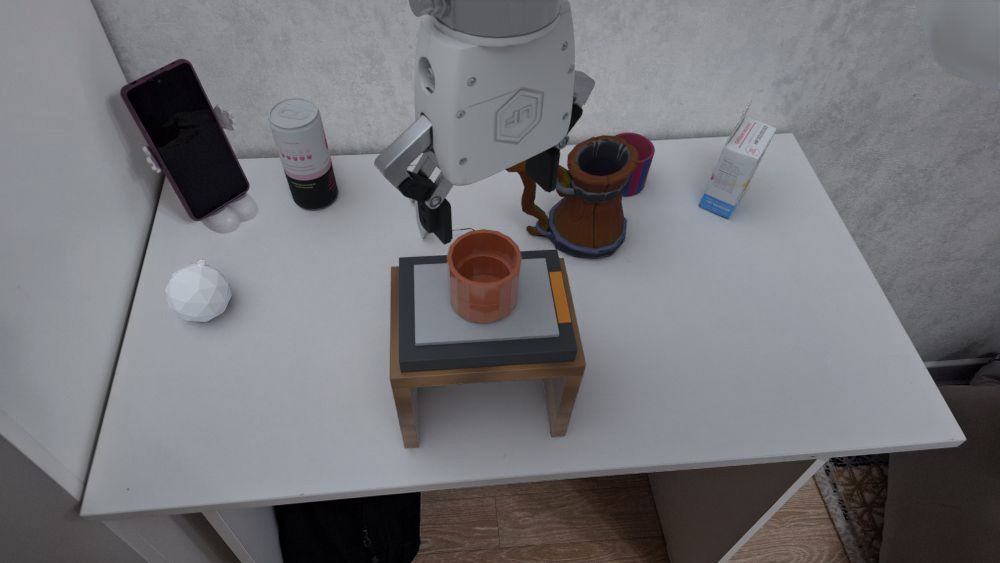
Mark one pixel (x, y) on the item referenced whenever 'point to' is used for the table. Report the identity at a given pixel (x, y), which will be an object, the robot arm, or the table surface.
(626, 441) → the table surface
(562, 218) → the mug
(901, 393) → the table surface
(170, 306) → the ornament
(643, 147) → the cup
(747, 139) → the ink box
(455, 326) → the scale
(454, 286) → the flower pot
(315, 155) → the beverage can
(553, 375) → the stand
